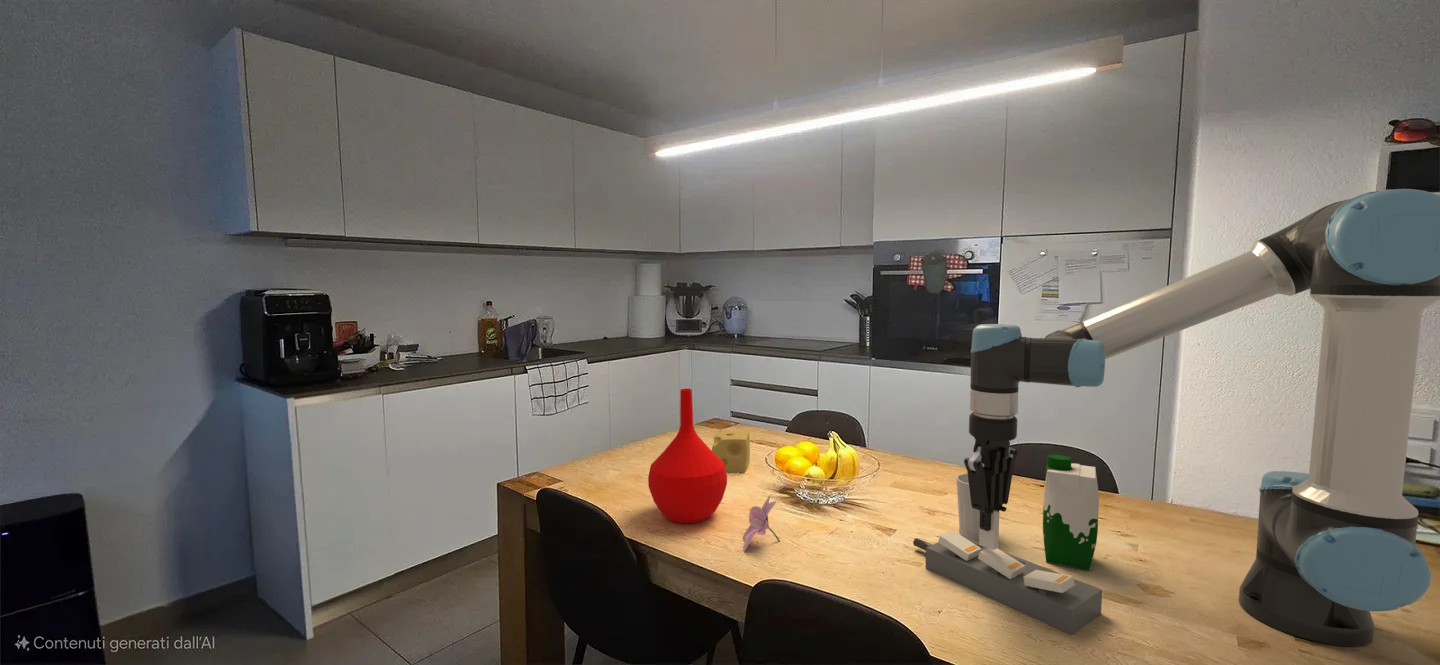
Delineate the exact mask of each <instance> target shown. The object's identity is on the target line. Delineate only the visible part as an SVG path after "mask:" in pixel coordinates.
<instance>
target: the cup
mask: <svg viewBox="0 0 1440 665" xmlns="http://www.w3.org/2000/svg"><path fill="white" fill-rule="evenodd" d="M955 480H956V493H957V494H956V495H957V508H958V509H957V511H958V525H959V528H958V530H959V532H958V534H960V535H962V536H964V537H967V538H969V539H972V540H975V541H977V542H979V529H980V526H979V525H980V511H979V510H977V509H974V508H972V506H971V498H970V489H969V481H968V473H961V474H958V475H957V476H956V478H955Z"/></svg>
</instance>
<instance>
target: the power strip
mask: <svg viewBox="0 0 1440 665" xmlns="http://www.w3.org/2000/svg"><path fill="white" fill-rule="evenodd" d="M961 536H962V535H961ZM963 537H964V536H963ZM964 538H966V539H967V540H969V541H971V542H972V543H974V544H975V545H977V546H978V547H980V548H981V551H982V550H984V549H986V548H987V547H984V546H982V545H979V541H977V540H972V539H969V538H967V537H964ZM912 544H913V546H914V547H915V548H916V547H917V548H919V549H921V550H923V551H925V568H926V569H927V570H929V571H932V572H933V573H936V574H938V575H940V576H942V577H944V578H947V579H949V580H951V581H952V582H955V583H958V584H960V585H962V586H964V587H966V588H968V589H970V590H973V591H975V592H977V593H979V594H982V595H983V596H986V597H988V598H990V599H992V600H994V601H997V602H999V603H1001V604H1003V605H1005V606H1008V607H1010V608H1012V609H1014V610H1016V611H1019V612H1020V613H1022V614H1025V615H1026V616H1030V617H1031V618H1034V619H1036V620H1038V621H1040V622H1042V623H1045V624H1047V625H1048V626H1051V627H1053V628H1055V629H1057V630H1060V631H1061V632H1064V633H1066V634H1068V635H1070V636H1072V635H1074V633H1076V632H1077V631H1079V630H1080V629H1081V628H1083V627H1084V626H1086V625H1087V624H1088V623H1090V622H1091V621H1092V620H1094V619H1096V617H1098V616H1099V615H1101V614H1102V604H1103V602H1102V601H1103V589H1102V588H1099V587H1096V586H1094V585H1092V584H1089V583H1086V582H1083V581H1081V580H1079V579H1075V578H1074V583H1075V586H1073V587H1071V588H1070V589H1068V590H1067V591H1065V592H1063V593H1060V592H1055V591H1050V590H1045V589H1040V588H1035V587H1030V586H1025V583H1024V578H1023V577H1024V576H1026V575H1027V574H1029V573H1031V572H1033V571H1035V570H1040V571H1046V572H1052V573H1058V574H1061V573H1060V572H1058V571H1056V570H1052V569H1051V568H1050V569H1049V568H1046V567H1045V566H1041V565H1039V564H1037V563H1034V562H1031V561H1030V560H1026V559H1024V558H1021V557H1019V556H1016V555H1013V554H1010V553H1009V552H1007V551H1003V552H1004V553H1006V554H1007V555H1009V556H1011V557H1012V558H1014V559H1015V560H1017V561H1019V562H1020V563H1022V564H1023V565H1025V568H1024V571H1023V573H1021V574H1019V575H1017V576H1016V577H1014V578H1012V579H1009V578H1007V577H1006V576H1004V575H1003V574H1001V573H1000V572H998V571H997V570H995V569H994V568H992V567H990V566H989V565H987V564H986V563H984V562H983V561H981V560H980V559H978V557H979V555H978V556H976V557H974V558H972V559H970V560H968V561H966V560H964V559H963V558H961V557H960V556H958V555H957V554H955V553H954V552H952V551H951V550H949V549H948V548H946V547H945V546H943V545H942V544H940V543H939V542H938V541H937V542H935V543H934V544H932V543H930V542H927V541H925V540H922V539H920V538H918V537H916V538H914V539H913V543H912Z"/></svg>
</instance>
